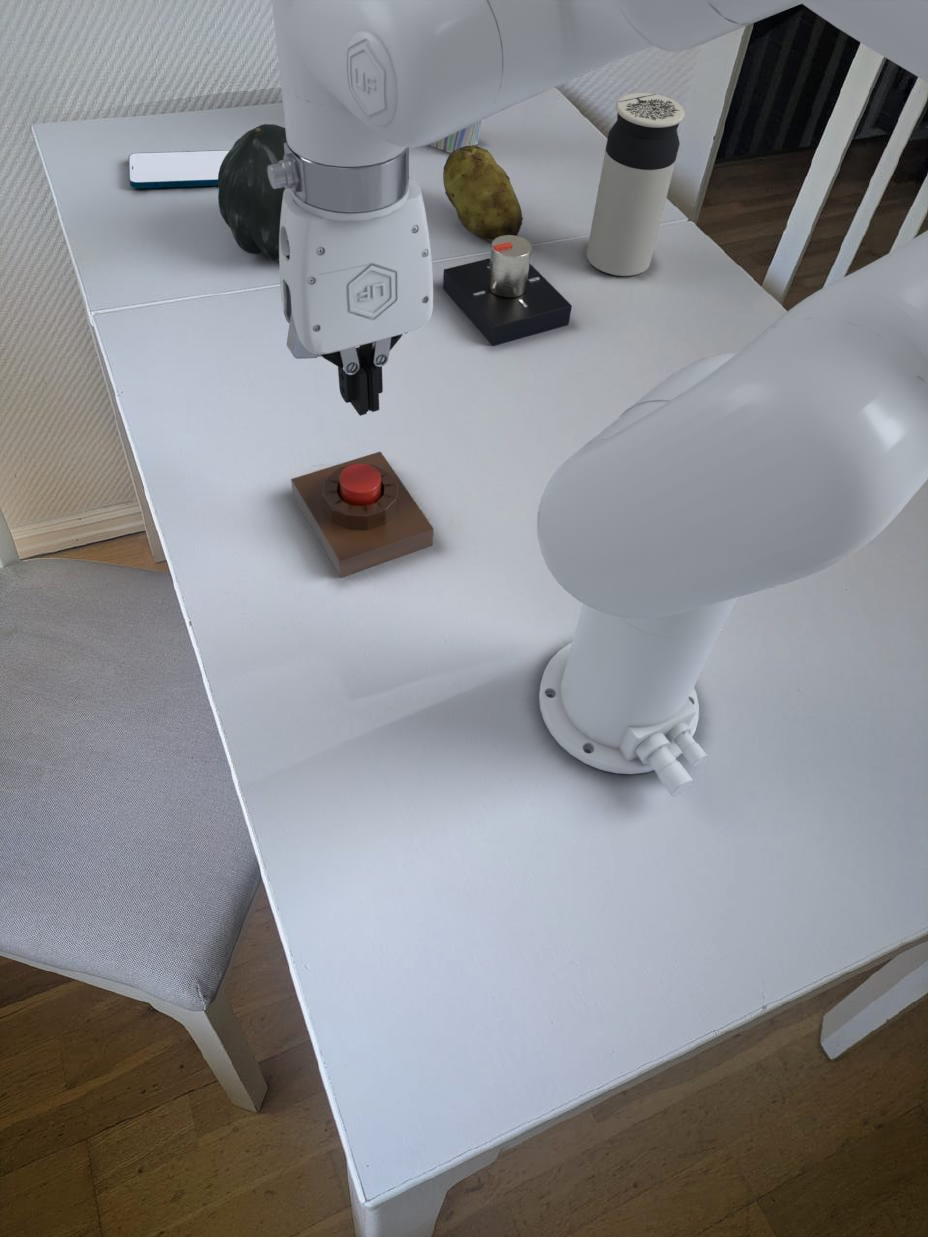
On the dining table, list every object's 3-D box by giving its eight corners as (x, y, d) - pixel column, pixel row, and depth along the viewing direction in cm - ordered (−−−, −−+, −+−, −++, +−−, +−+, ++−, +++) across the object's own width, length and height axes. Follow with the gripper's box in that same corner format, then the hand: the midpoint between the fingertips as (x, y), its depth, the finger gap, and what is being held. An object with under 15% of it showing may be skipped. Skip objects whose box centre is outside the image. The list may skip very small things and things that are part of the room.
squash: (345, 158, 112) (256, 68, 101) (383, 224, 105) (291, 136, 93) (268, 239, 117) (174, 163, 105) (299, 309, 109) (202, 235, 98)
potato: (460, 253, 111) (464, 189, 104) (435, 200, 118) (438, 137, 112) (524, 248, 113) (532, 184, 106) (496, 195, 120) (502, 133, 114)
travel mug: (661, 272, 111) (700, 119, 97) (604, 282, 109) (635, 127, 95) (631, 238, 115) (664, 87, 101) (575, 247, 113) (601, 94, 99)
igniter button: (387, 499, 80) (387, 484, 78) (350, 511, 78) (349, 497, 77) (370, 473, 81) (370, 458, 80) (333, 485, 80) (332, 470, 79)
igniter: (432, 545, 81) (434, 514, 78) (340, 578, 78) (338, 547, 75) (380, 468, 87) (380, 436, 84) (292, 495, 84) (289, 464, 81)
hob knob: (514, 272, 105) (519, 229, 100) (533, 293, 102) (539, 249, 98) (481, 280, 103) (484, 236, 99) (498, 301, 101) (503, 257, 97)
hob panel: (568, 324, 103) (572, 304, 101) (492, 346, 100) (494, 325, 98) (515, 270, 109) (518, 249, 107) (442, 288, 106) (443, 267, 104)
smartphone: (253, 155, 122) (129, 159, 119) (252, 148, 122) (128, 152, 118) (258, 185, 118) (130, 190, 115) (258, 178, 117) (128, 183, 114)
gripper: (258, 221, 53) (290, 459, 67) (481, 173, 58) (467, 405, 72) (215, 165, 57) (255, 401, 71) (427, 124, 62) (424, 353, 76)
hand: (361, 402), depth 72 cm, fingers closed
